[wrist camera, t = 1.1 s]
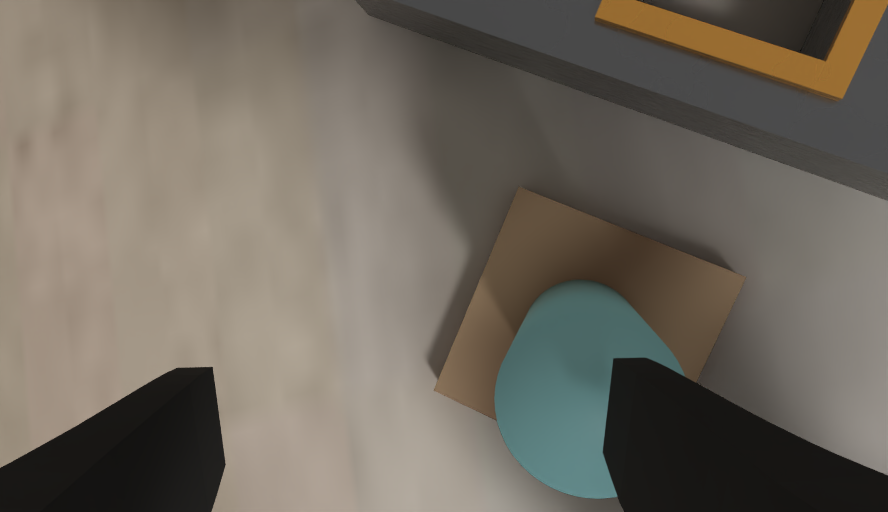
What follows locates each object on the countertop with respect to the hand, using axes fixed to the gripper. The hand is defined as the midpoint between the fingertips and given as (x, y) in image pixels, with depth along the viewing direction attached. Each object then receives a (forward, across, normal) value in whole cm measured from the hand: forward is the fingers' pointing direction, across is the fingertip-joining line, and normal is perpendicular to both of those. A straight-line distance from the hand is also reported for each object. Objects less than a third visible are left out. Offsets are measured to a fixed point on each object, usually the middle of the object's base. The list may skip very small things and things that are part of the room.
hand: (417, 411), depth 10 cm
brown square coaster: (+10, -6, +3) cm, 12 cm away
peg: (+9, -6, +3) cm, 11 cm away
